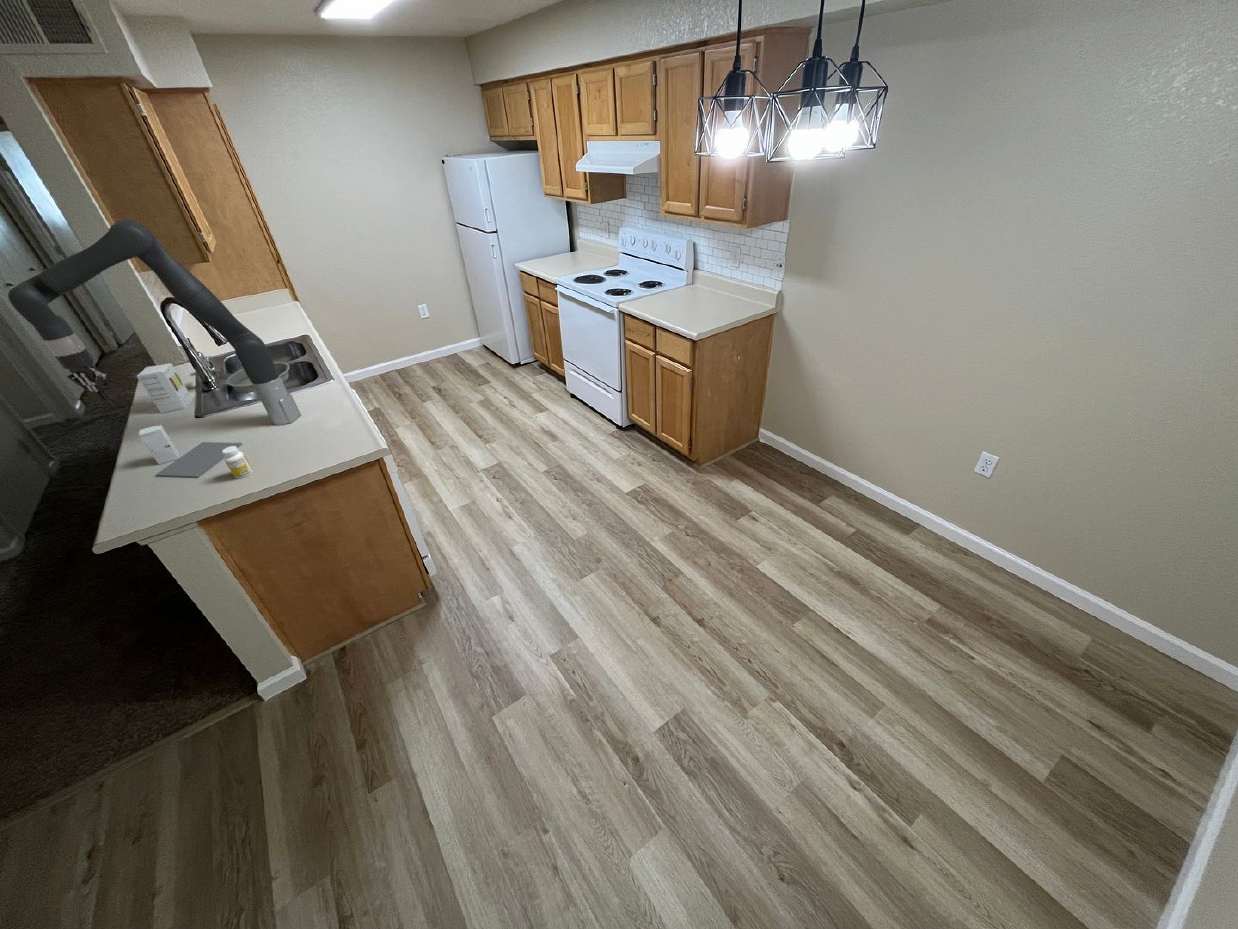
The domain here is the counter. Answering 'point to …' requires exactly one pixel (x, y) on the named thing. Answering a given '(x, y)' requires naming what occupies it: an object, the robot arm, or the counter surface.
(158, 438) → the skincare box
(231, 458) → the supplement bottle
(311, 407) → the counter surface
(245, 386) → the cake pan
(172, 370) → the supplement box
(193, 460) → the rubber mat
